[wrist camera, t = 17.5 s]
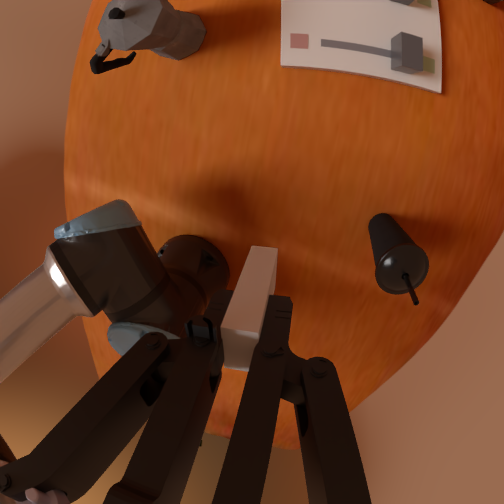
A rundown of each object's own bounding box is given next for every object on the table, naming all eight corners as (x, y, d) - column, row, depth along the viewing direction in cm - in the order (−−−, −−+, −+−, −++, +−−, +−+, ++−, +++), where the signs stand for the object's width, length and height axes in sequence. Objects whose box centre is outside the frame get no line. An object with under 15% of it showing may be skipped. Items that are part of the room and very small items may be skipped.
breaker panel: (282, 67, 34) (280, 65, 32) (282, -37, 24) (280, -43, 22) (434, 93, 30) (441, 93, 28) (429, -10, 20) (435, -15, 18)
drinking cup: (384, 195, 41) (428, 261, 24) (410, 227, 42) (454, 301, 26) (351, 225, 45) (371, 303, 28) (377, 253, 46) (404, 336, 29)
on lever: (390, 69, 29) (401, 65, 24) (390, 38, 26) (401, 31, 22) (410, 74, 28) (422, 71, 24) (410, 43, 26) (422, 37, 21)
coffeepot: (189, -5, 29) (129, -42, 14) (228, 22, 31) (179, -17, 16) (130, 60, 36) (55, 58, 21) (163, 89, 38) (91, 93, 23)
